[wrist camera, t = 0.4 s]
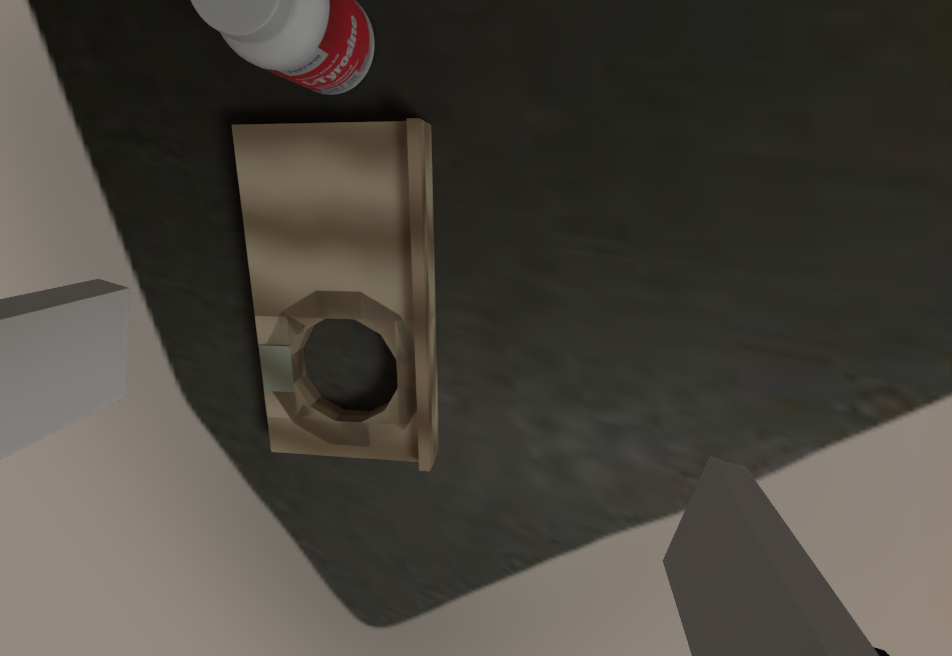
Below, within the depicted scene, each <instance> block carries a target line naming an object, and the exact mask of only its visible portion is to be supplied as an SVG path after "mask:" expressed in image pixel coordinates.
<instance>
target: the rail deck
mask: <svg viewBox="0 0 952 656" xmlns="http://www.w3.org/2000/svg"><path fill="white" fill-rule="evenodd" d="M406 119H407V121H389V122H341V123H294V124H246V125H232V133H233V141H234V149H235V157H236V166H237V174H238V182H239V190H240V198H241V207H242V215H243V223H244V231H245V239H246V248H247V256H248V264H249V272H250V280H251V289H252V297H253V305H254V313H255V321H256V330H257V338H258V346H259V354H260V362H261V371H262V379H263V387H264V395H265V403H266V412H267V420H268V428H269V436H270V444H271V452H282V453H297V454H311V455H325V456H340V457H354V458H369V459H383V460H398V461H412V462H419V471H430V470H431V468H432V465H433V463H434V460H435V458H436V456H437V453H438V451H439V434H438V393H437V352H436V310H435V269H434V228H433V187H432V146H431V124H429V123H427V122H425V121H423V120H422V119H420V118H406ZM325 318H335V319H355V320H357V321H359V322H360V323H362V324H364V325H365V326H367V327H369V328H370V329H372V330H374V331H376V332H377V333H379V334H381V336H382V337H383V339H384V341H385V342H386V344H387V346H388V347H389V349H390V350H391V352H392V354H393V355H394V357H395V358H396V360H397V382H398V388H397V390H396V392H395V394H394V395H393V397H392V399H391V401H389V402H387V403H386V404H384V405H382V406H380V407H378V408H376V409H374V410H372V411H358V410H344V409H342V408H341V407H339V406H337V405H336V404H334V403H332V402H331V401H329V400H327V399H325V398H324V397H322V396H321V395H320V393H319V392H318V390H317V389H316V387H315V386H314V384H313V383H312V381H311V380H310V378H309V377H308V375H307V374H306V366H305V356H304V346H305V344H306V342H307V340H308V338H309V335H310V333H311V331H312V329H313V327H314V325H315V324H317V323H318V322H320V321H322V320H324V319H325Z"/></svg>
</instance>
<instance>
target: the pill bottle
mask: <svg viewBox="0 0 952 656" xmlns="http://www.w3.org/2000/svg"><path fill="white" fill-rule="evenodd" d="M191 2H192V4H193V6H194V8H195V9H196V11H197V12H198V14H199V15H200V16H201V17H202V19H203V20H204V21H205V22H206V23H207V24H209V25H210V26H211V27H213V28H214V29H216V30H218V31H219V32H220V33H221V35H222V36H223V38H224V39H225V41H226V42H227V43H228V45H229V46H230V47H231V48H232V49H233V50H234V51H235V52H236V53H237V54H238V55H240V56H241V57H242V58H244V59H245V60H247V61H248V62H250V63H252V64H254V65H256V66H258V67H260V68H262V69H265V70H267V71H270V72H272V73H274V74H276V75H279V76H281V77H283V78H285V79H288V80H290V81H292V82H295V83H297V84H299V85H301V86H304V87H306V88H308V89H310V90H313V91H316V92H319V93H322V94H332V95H333V94H340V93H343V92H346V91H348V90H350V89H352V88H354V87H355V86H356V85H357V84H358V83H359V82H360V81H361V80H362V79H363V78H364V77H365V75H366V74H367V72H368V70H369V68H370V66H371V63H372V59H373V55H374V35H373V30H372V26H371V23H370V21H369V19H368V16H367V15H366V13H365V11H364V10H363V8H362V7H361V6H360V5H359V4H358V2H357V1H356V0H191Z"/></svg>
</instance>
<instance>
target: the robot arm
mask: <svg viewBox="0 0 952 656" xmlns="http://www.w3.org/2000/svg"><path fill="white" fill-rule="evenodd" d="M129 293H130V288H127V287H124V286H121V285H117V284H114V283H110V282H107V281H104V280H100V279H96V280H91V281H86V282H81V283H77V284H72V285H68V286H63V287H58V288H53V289H48V290H43V291H38V292H33V293H29V294H24V295H19V296H14V297H9V298H5V299H0V459H2V458H4V457H6V456H8V455H10V454H12V453H14V452H16V451H18V450H20V449H22V448H24V447H26V446H28V445H30V444H32V443H34V442H36V441H38V440H40V439H42V438H44V437H46V436H48V435H50V434H52V433H54V432H56V431H58V430H60V429H62V428H64V427H66V426H68V425H70V424H72V423H74V422H76V421H78V420H80V419H82V418H84V417H86V416H88V415H90V414H92V413H94V412H96V411H98V410H100V409H102V408H104V407H106V406H108V405H110V404H112V403H114V402H116V401H118V400H120V399H122V398H124V397H125V387H126V386H125V385H126V365H127V363H126V362H127V342H128V316H129V295H130V294H129ZM663 563H664V566H665V569H666V573H667V576H668V579H669V583H670V586H671V589H672V592H673V595H674V599H675V602H676V605H677V608H678V611H679V615H680V618H681V621H682V625H683V628H684V631H685V634H686V638H687V641H688V644H689V647H690V650H691V654H692V656H889V654H887V653H886V652H885V651H884V650H881V649H878V648H874V647H873V646H872V645H871V643H870V642H869V641H868V639H867V638H866V636H865V635H864V634H863V632H862V631H861V630H860V628H859V626H858V625H857V624H856V622H855V621H854V619H853V618H852V617H851V615H850V614H849V612H848V611H847V609H846V608H845V607H844V605H843V604H842V603H841V601H840V600H839V598H838V597H837V595H836V594H835V592H834V591H833V590H832V588H831V587H830V585H829V584H828V583H827V581H826V580H825V578H824V577H823V576H822V574H821V573H820V571H819V570H818V568H817V567H816V566H815V564H814V563H813V561H812V560H811V559H810V557H809V556H808V554H807V553H806V552H805V550H804V549H803V547H802V546H801V544H800V543H799V542H798V540H797V539H796V537H795V536H794V535H793V533H792V532H791V530H790V529H789V527H788V526H787V525H786V523H785V522H784V520H783V519H782V518H781V516H780V515H779V513H778V512H777V510H776V509H775V508H774V506H773V505H772V503H771V502H770V501H769V499H768V498H767V496H766V495H765V493H764V492H763V491H762V489H761V488H760V487H759V485H758V483H757V482H756V481H755V479H754V478H753V476H752V475H751V474H750V472H749V471H748V469H747V468H746V467H744V466H740V465H737V464H734V463H730V462H727V461H723V460H720V459H716V458H713V457H709V459H708V461H707V463H706V465H705V468H704V470H703V472H702V474H701V476H700V479H699V481H698V483H697V485H696V488H695V490H694V492H693V494H692V497H691V499H690V501H689V503H688V505H687V508H686V510H685V512H684V514H683V517H682V519H681V521H680V523H679V526H678V528H677V530H676V532H675V534H674V537H673V539H672V541H671V543H670V546H669V548H668V550H667V553H666V555H665V557H664V559H663Z"/></svg>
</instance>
